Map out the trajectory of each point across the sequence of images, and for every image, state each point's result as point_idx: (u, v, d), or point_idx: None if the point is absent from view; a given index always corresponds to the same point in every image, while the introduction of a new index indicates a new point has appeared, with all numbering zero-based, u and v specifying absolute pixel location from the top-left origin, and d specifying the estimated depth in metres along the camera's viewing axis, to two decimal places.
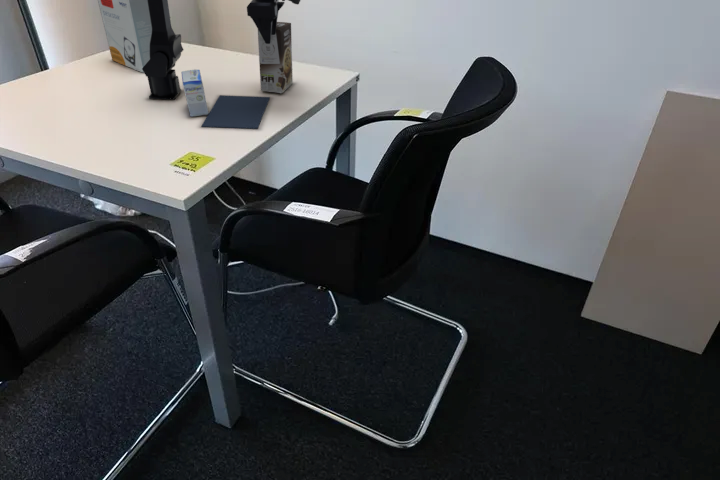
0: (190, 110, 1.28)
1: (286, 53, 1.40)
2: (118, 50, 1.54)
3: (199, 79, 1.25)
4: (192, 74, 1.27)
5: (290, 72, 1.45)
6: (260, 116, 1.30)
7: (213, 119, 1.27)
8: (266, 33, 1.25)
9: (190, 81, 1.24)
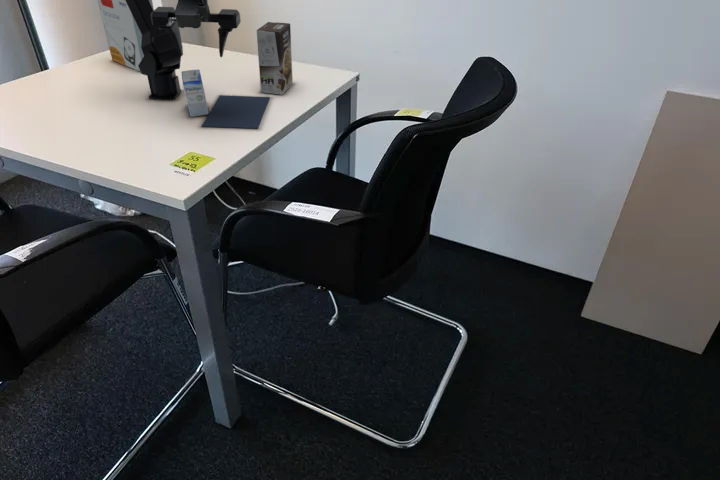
0: (190, 110, 1.28)
1: (286, 54, 1.39)
2: (118, 50, 1.54)
3: (199, 79, 1.25)
4: (192, 74, 1.27)
5: (290, 73, 1.45)
6: (260, 116, 1.30)
7: (213, 119, 1.27)
8: None
9: (190, 81, 1.24)
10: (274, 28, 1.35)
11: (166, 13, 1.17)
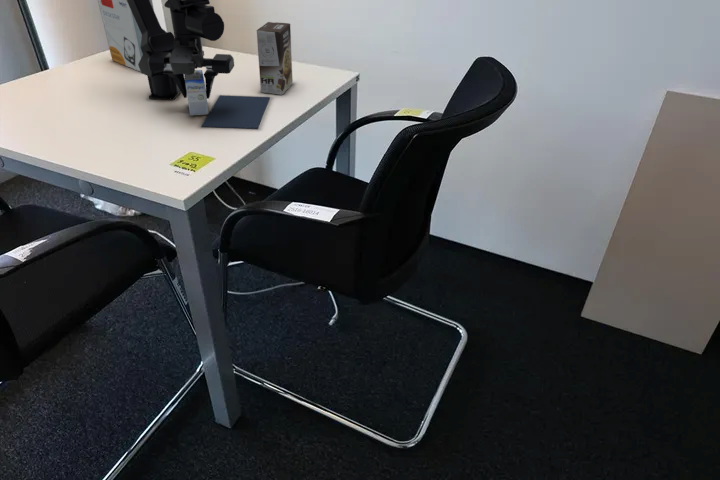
0: (190, 109, 1.27)
1: (286, 54, 1.39)
2: (118, 50, 1.54)
3: (202, 78, 1.25)
4: (195, 73, 1.28)
5: (290, 73, 1.45)
6: (260, 116, 1.30)
7: (213, 119, 1.27)
8: None
9: (192, 80, 1.24)
10: (274, 28, 1.35)
11: (162, 59, 1.22)
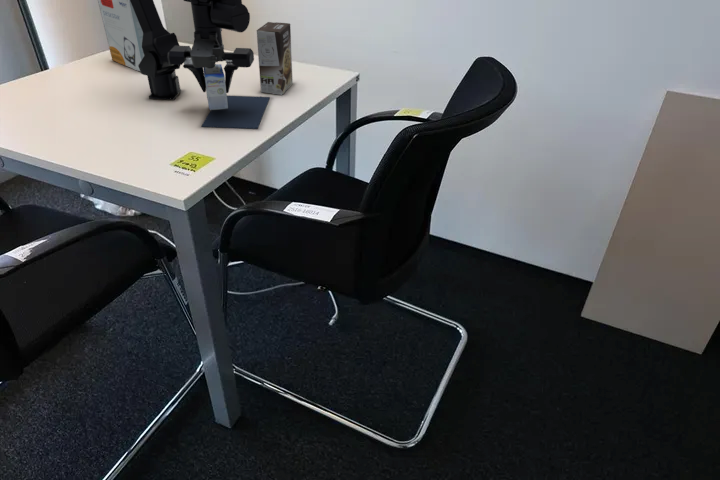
0: (210, 103, 1.26)
1: (286, 54, 1.39)
2: (118, 50, 1.54)
3: (221, 72, 1.24)
4: (214, 68, 1.27)
5: (290, 73, 1.45)
6: (260, 116, 1.30)
7: (213, 119, 1.27)
8: None
9: (212, 74, 1.23)
10: (274, 28, 1.35)
11: (182, 53, 1.21)
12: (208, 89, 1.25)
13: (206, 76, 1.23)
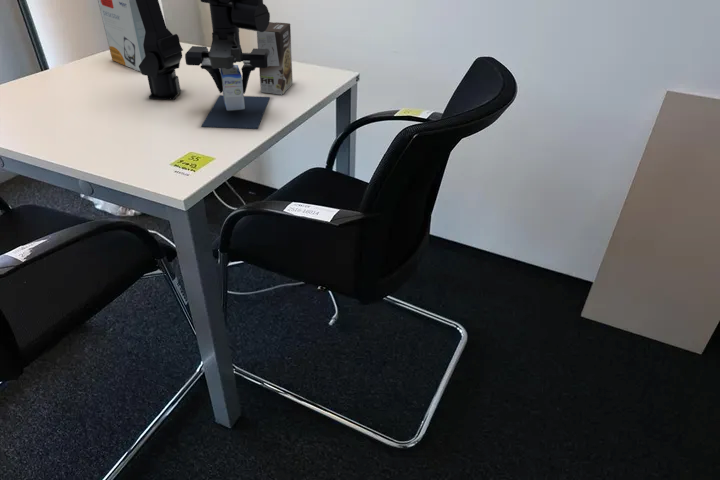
0: (227, 104, 1.26)
1: (286, 54, 1.39)
2: (118, 50, 1.54)
3: (239, 73, 1.24)
4: (231, 68, 1.27)
5: (290, 73, 1.45)
6: (260, 116, 1.30)
7: (213, 119, 1.27)
8: None
9: (229, 74, 1.23)
10: (274, 28, 1.35)
11: (200, 53, 1.21)
12: (225, 90, 1.25)
13: (223, 77, 1.23)
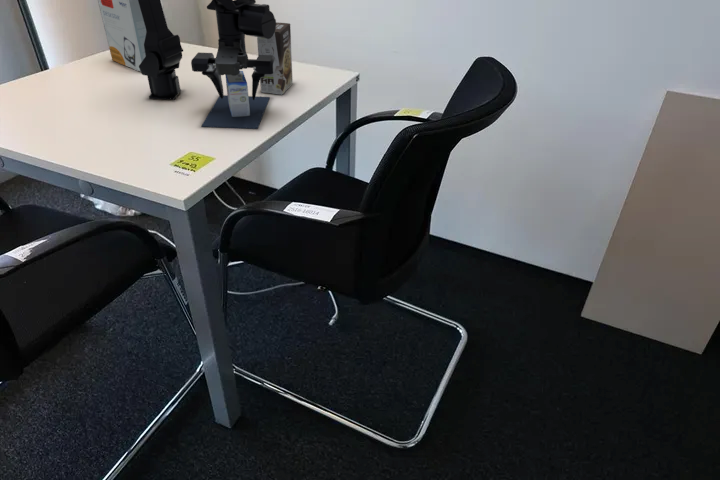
0: (232, 110, 1.27)
1: (286, 54, 1.39)
2: (118, 50, 1.54)
3: (244, 80, 1.25)
4: (237, 75, 1.27)
5: (290, 73, 1.45)
6: (260, 116, 1.30)
7: (213, 119, 1.27)
8: None
9: (235, 82, 1.24)
10: None
11: (206, 60, 1.22)
12: (231, 97, 1.25)
13: (229, 84, 1.24)
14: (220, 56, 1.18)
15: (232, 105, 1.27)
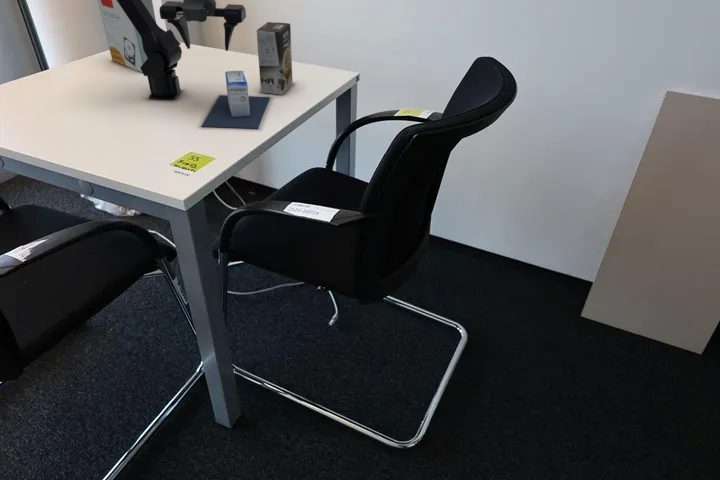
0: (232, 110, 1.27)
1: (286, 54, 1.39)
2: (118, 50, 1.54)
3: (244, 80, 1.25)
4: (237, 75, 1.27)
5: (290, 73, 1.45)
6: (260, 116, 1.30)
7: (213, 119, 1.27)
8: None
9: (235, 82, 1.24)
10: (274, 28, 1.35)
11: (174, 7, 1.22)
12: (231, 97, 1.25)
13: (229, 84, 1.24)
14: (187, 2, 1.18)
15: (232, 105, 1.27)
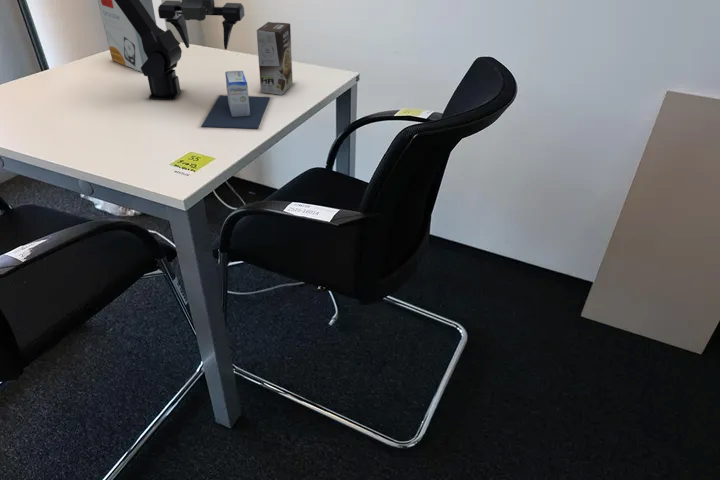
0: (232, 110, 1.27)
1: (286, 54, 1.39)
2: (118, 50, 1.54)
3: (244, 80, 1.25)
4: (237, 75, 1.27)
5: (290, 73, 1.45)
6: (260, 116, 1.30)
7: (213, 119, 1.27)
8: None
9: (235, 82, 1.24)
10: (274, 28, 1.35)
11: (173, 6, 1.22)
12: (231, 97, 1.25)
13: (229, 84, 1.24)
14: (186, 1, 1.18)
15: (232, 105, 1.27)
